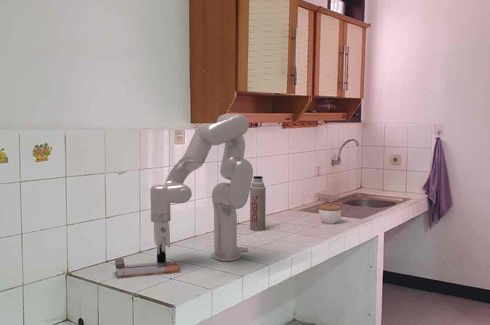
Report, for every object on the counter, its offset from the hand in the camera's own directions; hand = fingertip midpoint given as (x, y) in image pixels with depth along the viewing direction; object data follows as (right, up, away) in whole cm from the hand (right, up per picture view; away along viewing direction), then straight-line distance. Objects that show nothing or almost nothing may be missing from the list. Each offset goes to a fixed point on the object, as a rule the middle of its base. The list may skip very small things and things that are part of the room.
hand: (161, 263), depth 194 cm
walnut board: (-5, -3, -4) cm, 7 cm away
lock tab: (-14, +1, -10) cm, 17 cm away
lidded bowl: (+80, +5, +85) cm, 117 cm away
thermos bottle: (+39, +4, +68) cm, 78 cm away
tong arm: (-2, -1, -5) cm, 6 cm away
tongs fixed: (-4, -2, -7) cm, 8 cm away
